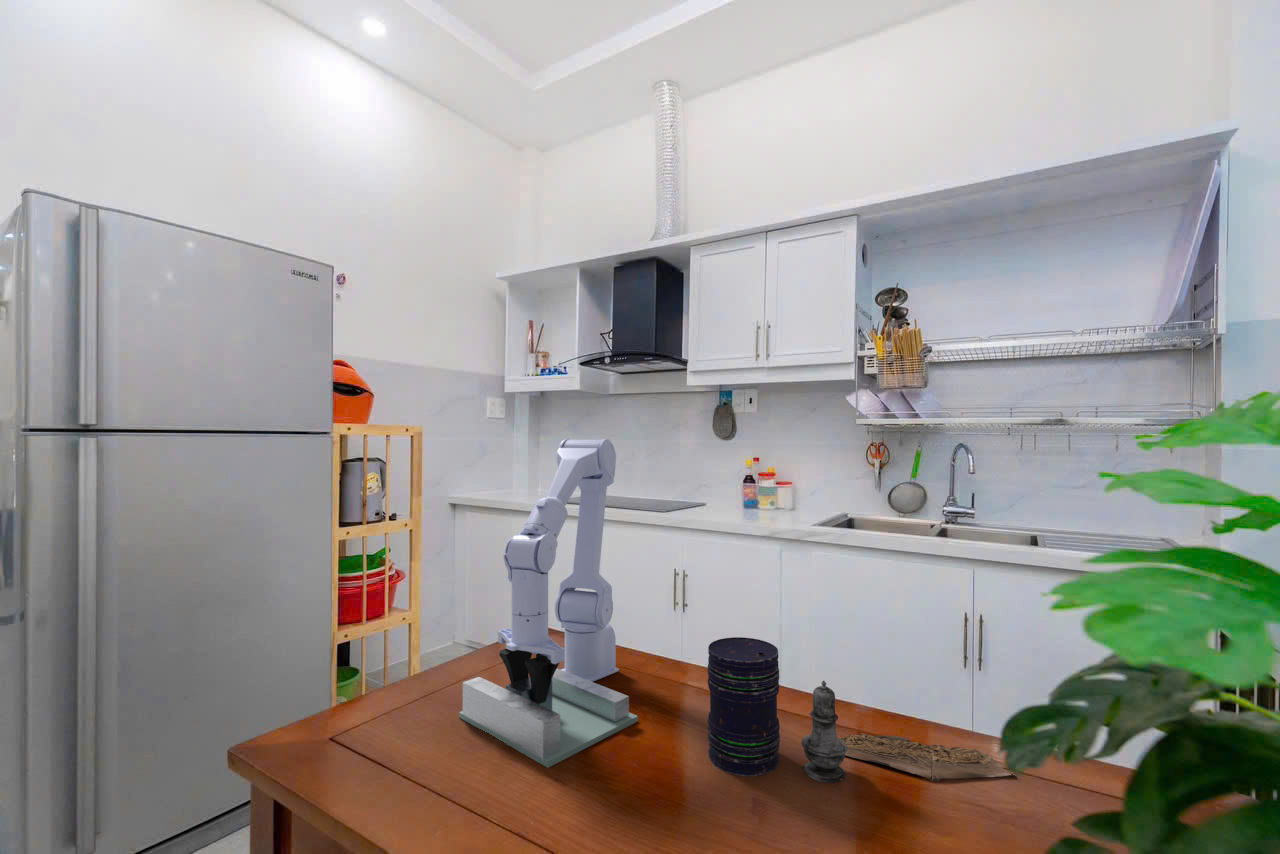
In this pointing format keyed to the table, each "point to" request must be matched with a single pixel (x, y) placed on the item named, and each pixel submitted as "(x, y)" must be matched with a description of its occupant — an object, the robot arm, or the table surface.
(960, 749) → the wooden fragment
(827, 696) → the salt shaker
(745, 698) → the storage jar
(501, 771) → the table surface
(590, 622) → the robot arm
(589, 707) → the bar
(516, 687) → the steel block
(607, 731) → the vise base
